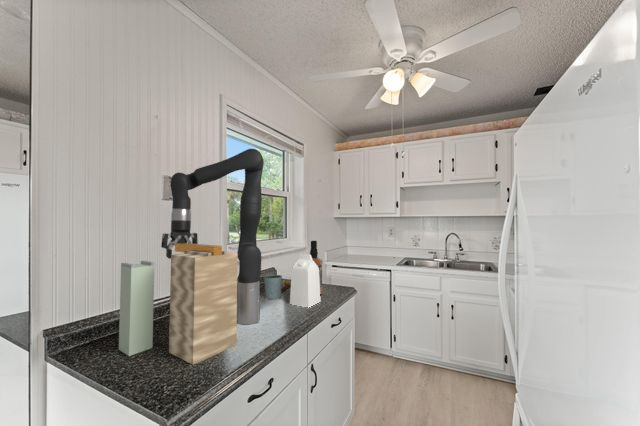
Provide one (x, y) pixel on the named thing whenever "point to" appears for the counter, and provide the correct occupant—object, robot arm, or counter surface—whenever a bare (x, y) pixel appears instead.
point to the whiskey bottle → (317, 261)
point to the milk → (305, 282)
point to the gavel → (286, 283)
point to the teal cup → (273, 286)
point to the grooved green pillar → (136, 307)
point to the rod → (199, 248)
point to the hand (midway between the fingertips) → (179, 257)
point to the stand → (202, 304)
